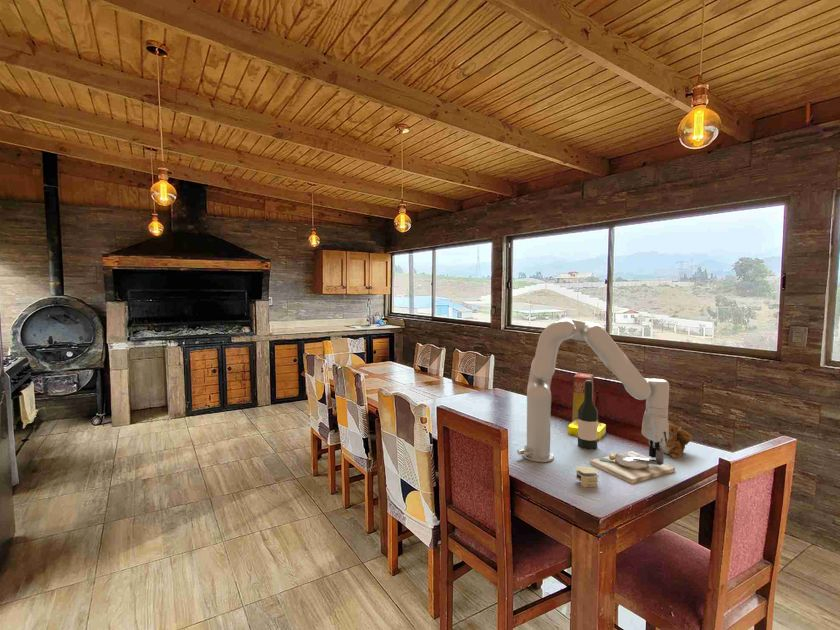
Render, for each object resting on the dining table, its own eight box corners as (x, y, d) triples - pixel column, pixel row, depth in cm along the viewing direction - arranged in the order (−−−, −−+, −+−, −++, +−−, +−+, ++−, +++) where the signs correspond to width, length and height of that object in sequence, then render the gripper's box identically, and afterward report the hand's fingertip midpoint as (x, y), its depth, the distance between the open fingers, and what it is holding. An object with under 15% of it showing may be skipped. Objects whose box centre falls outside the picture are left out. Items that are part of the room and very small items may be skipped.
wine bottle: (599, 450, 179) (600, 382, 178) (579, 449, 181) (580, 381, 179) (595, 443, 187) (596, 378, 186) (576, 442, 189) (577, 378, 187)
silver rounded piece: (608, 465, 159) (609, 448, 159) (608, 454, 170) (609, 438, 170) (665, 474, 151) (665, 456, 151) (661, 462, 162) (661, 445, 162)
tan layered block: (595, 479, 152) (596, 464, 152) (605, 490, 143) (606, 475, 143) (568, 479, 152) (568, 464, 152) (576, 490, 143) (576, 475, 143)
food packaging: (589, 425, 213) (590, 378, 212) (571, 422, 218) (571, 376, 217) (593, 419, 225) (594, 373, 224) (575, 416, 230) (576, 372, 228)
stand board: (631, 483, 148) (631, 478, 148) (589, 463, 165) (590, 459, 165) (675, 471, 158) (675, 467, 157) (631, 454, 175) (631, 450, 175)
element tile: (575, 426, 213) (575, 417, 213) (606, 432, 204) (606, 422, 203) (566, 434, 201) (566, 424, 201) (599, 441, 192) (599, 430, 192)
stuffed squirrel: (650, 450, 179) (651, 421, 178) (674, 446, 184) (674, 417, 183) (671, 459, 169) (672, 428, 169) (695, 454, 174) (696, 424, 174)
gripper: (635, 405, 167) (633, 449, 168) (660, 416, 152) (657, 464, 153) (653, 405, 168) (650, 449, 169) (679, 416, 153) (676, 464, 154)
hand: (654, 456), depth 161 cm, fingers closed
